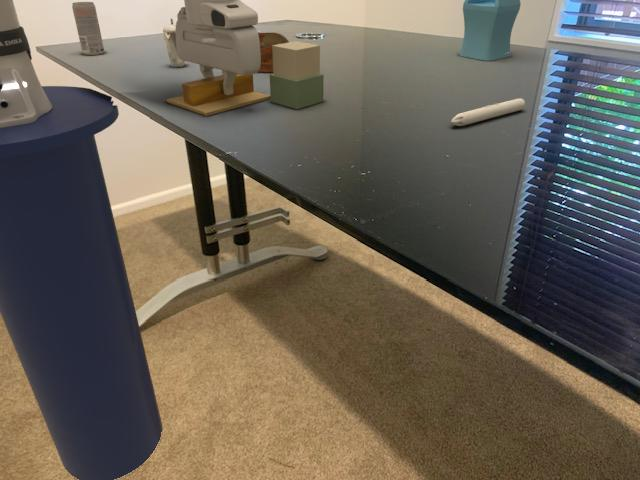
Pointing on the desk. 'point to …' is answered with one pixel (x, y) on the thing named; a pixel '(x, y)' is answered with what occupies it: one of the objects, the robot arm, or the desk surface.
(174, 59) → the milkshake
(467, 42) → the vase
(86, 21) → the energy drink
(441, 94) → the desk surface
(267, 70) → the tin
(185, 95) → the bar
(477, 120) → the marker
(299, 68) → the tower
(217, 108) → the mat
